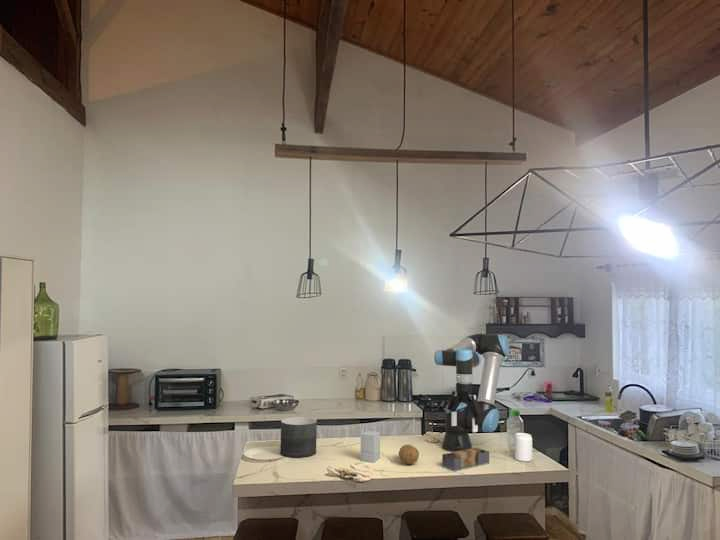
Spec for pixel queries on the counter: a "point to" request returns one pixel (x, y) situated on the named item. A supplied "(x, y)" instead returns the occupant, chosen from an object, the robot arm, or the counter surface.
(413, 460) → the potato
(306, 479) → the counter surface
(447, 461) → the grey notched block
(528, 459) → the beverage can
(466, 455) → the slat
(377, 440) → the supplement box
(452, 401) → the robot arm
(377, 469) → the counter surface
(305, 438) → the planter
